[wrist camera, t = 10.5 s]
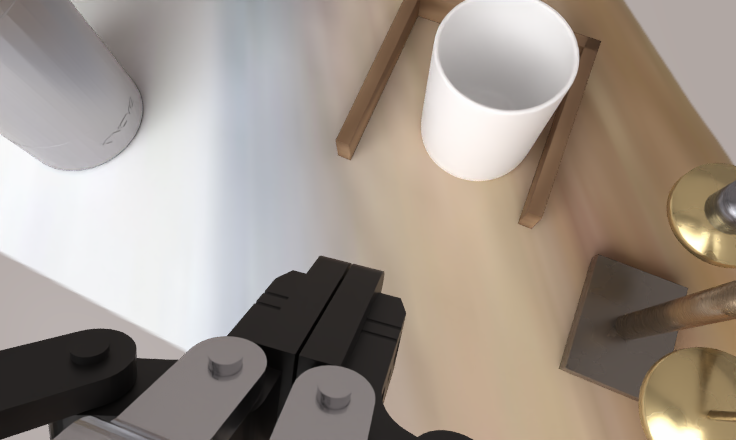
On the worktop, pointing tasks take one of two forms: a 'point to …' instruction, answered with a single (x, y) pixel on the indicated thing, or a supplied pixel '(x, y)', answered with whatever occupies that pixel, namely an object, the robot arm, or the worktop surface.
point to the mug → (495, 84)
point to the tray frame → (427, 3)
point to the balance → (666, 321)
